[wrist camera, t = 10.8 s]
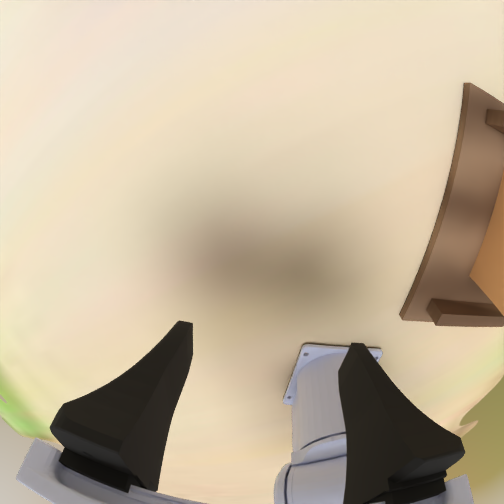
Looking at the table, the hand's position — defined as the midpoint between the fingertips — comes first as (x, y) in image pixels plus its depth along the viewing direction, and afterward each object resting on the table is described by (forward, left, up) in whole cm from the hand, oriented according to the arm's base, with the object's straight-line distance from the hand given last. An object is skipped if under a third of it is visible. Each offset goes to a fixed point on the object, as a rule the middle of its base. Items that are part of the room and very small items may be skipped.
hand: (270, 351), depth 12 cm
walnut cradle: (+6, -19, -9) cm, 22 cm away
